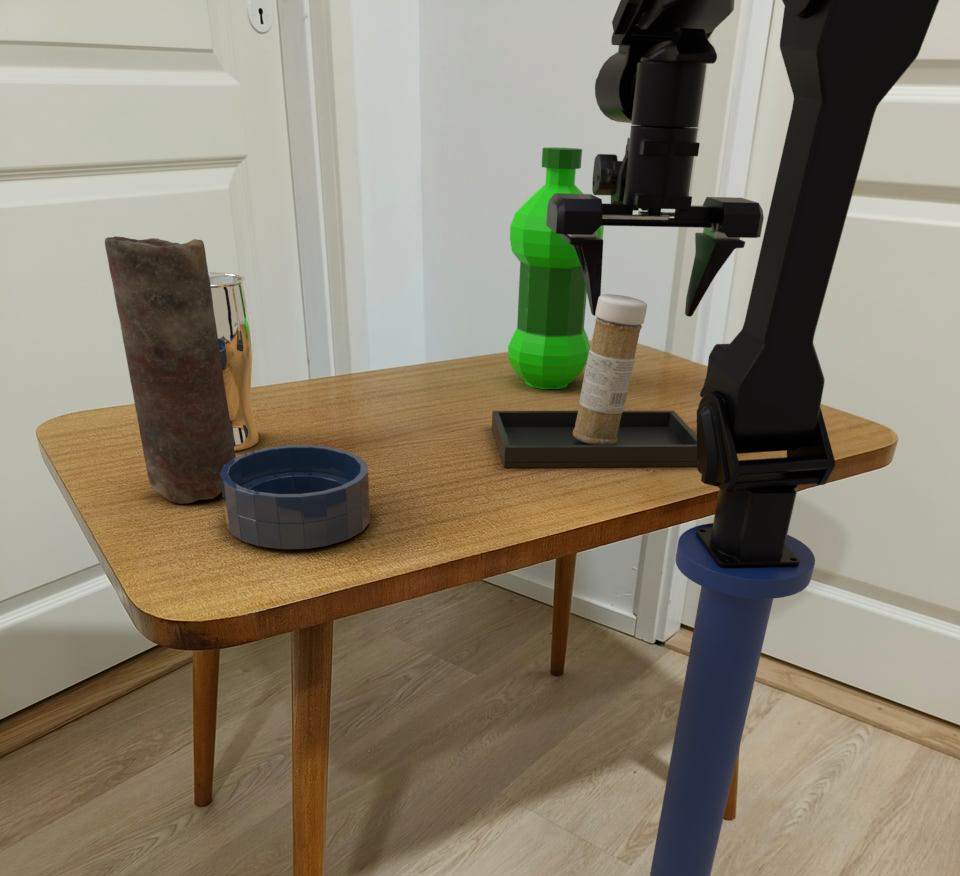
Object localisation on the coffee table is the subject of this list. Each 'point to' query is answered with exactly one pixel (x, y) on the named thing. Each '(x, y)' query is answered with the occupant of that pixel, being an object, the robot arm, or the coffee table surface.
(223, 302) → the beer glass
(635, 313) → the sprinkles bottle
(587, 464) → the tray
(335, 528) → the bowl
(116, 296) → the brown stone pillar
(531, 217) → the plastic bottle
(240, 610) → the coffee table surface
